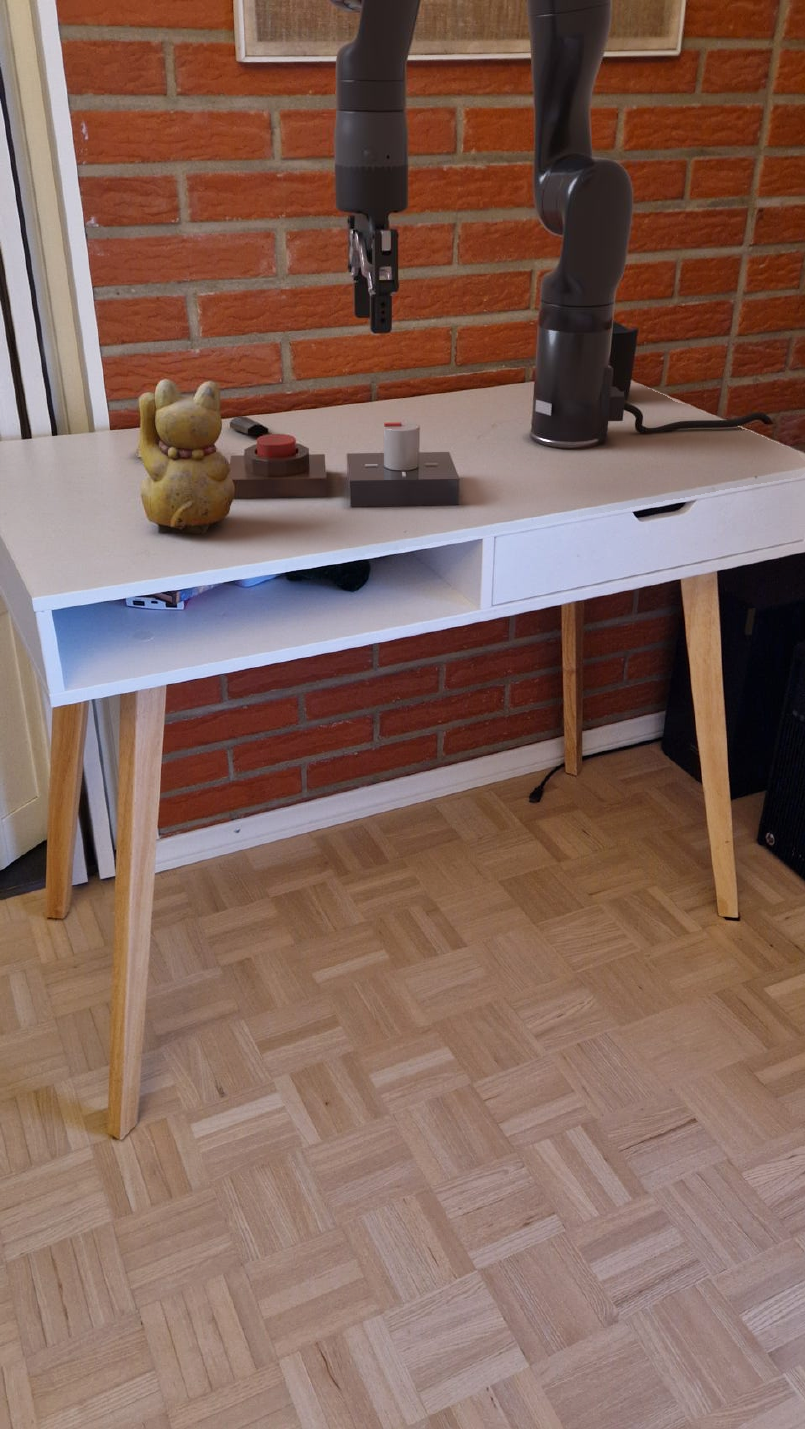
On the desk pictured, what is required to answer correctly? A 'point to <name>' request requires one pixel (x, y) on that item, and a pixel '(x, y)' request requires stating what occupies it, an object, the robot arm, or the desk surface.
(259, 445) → the button
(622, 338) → the dark upright prism
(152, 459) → the decorative figurine
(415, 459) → the knob
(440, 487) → the panel
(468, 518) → the desk surface
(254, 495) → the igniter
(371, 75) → the robot arm
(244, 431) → the block
